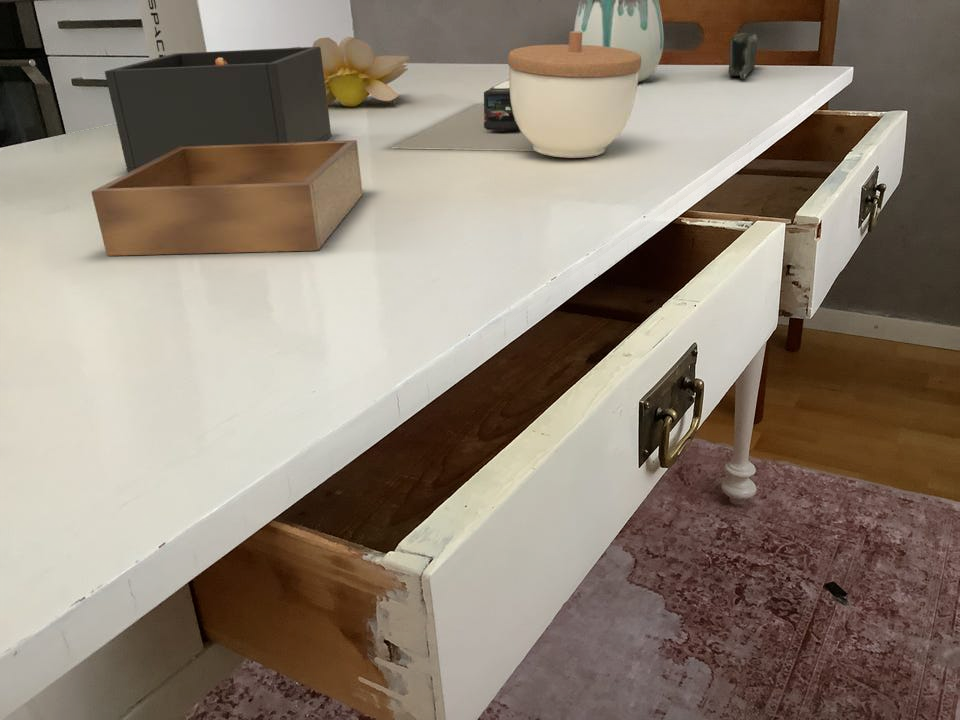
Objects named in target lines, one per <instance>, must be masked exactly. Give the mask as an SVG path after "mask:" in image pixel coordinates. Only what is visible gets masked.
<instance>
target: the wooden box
mask: <svg viewBox="0 0 960 720" xmlns="http://www.w3.org/2000/svg"><path fill="white" fill-rule="evenodd" d="M358 149H359V148H358V140H356V139H354V140H353V139H352V140H351V139H349V140H325V141H320V142H293V143H266V144H239V145H212V146H185V147H179V148H176V149H174V150H172V151H171V152H169V153H167V154H165V155H163V156H161V157H159V158H157V159H155V160H153V161H151V162H149V163H147V164H145V165H143V166H141V167H139V168H137V169H135V170H133V171H131V172H129V173H128V172H126V173H125V174H122V175H121V176H119V177H117V178H115V179H113V180H110V181H109V182H107V183H105V184H103V185H101V186H100V187H97V188H95V189H93V190H91V196H92V201H93V205H94V208H95V213H96V218H97V221H98V225H99V228H100V229H99V230H100V233H101V237H102V241H103V244H104V248H105V254H106V256H107V257H109V256H110V257H111V256H112V257H113V256H115V257H116V256H151V255H152V256H153V255H155V256H156V255H194V254H195V255H196V254H231V253H232V254H234V253H237V254H238V253H272V252H274V253H275V252H276V253H277V252H315V251H316V252H317V251H320V249H321V247H322V246H323V245H324V244H325V242H326V241H327V240H328V239H329V237H330V236H331V235H332V234H333V232H334V231H335V230H336V229H337V227H338V226H339V225H341V222H342V221H343V220H344V219H345V218H346V217H347V215H348V214H349V213H350V211H351V210H352V209H353V207H354V206H355V205H357V202H358V201H359V200H360V199H361V197H362V196H363V195H364V194H363V185H362V174H361V166H360V158H359V150H358Z"/></svg>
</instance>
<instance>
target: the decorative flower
mask: <svg viewBox="0 0 960 720" xmlns="http://www.w3.org/2000/svg"><path fill="white" fill-rule="evenodd" d="M311 47H320V48H321V56H322V64H323V72H324V80H325V88H326V96H327V105H329V104H332V103H333V102H334V101H335V100H337V101H338V102H339V103H340V104H342V105H343V106H344V107H350V108H354V107H357V106H360V104H362V102H364V101H366V99H367V98H368V97H369V95H371V96H372V97H373V98H374V99H376V100H379V101H383V102H387V103H389V104H394V105H395V104H396V102H395V99H396V98H397V97H399V94H398V93H397V92H396V91H395V90H394V89H393V88H392V87H390V86H389V85H388V84H390V83H392V82H394V81H395V80H397V79H398V78H399V77H401V76H402V75H403V74H404V73H405V72H407V71H408V70H409V67H408V64H406V63H407V62H409V60H410V59H411V56H410V55H379V56H376V57H375V52H374V50H373V48H372V47H371V46H370V44H368V43H367V42H366V41H365V40H360V39H358V38H357V39H356V38H354V37H353V36H346V37H344V38H343V39H342V40H341V41H340V42H339V45H338V43H337V42H336V41H335V40H334V39H332V38H331V37H329V36H328V37H320V38H317V39H316V40H314V42H313V43H312V46H311ZM292 48H301V46H293V47H292ZM407 67H408V68H407Z"/></svg>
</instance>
